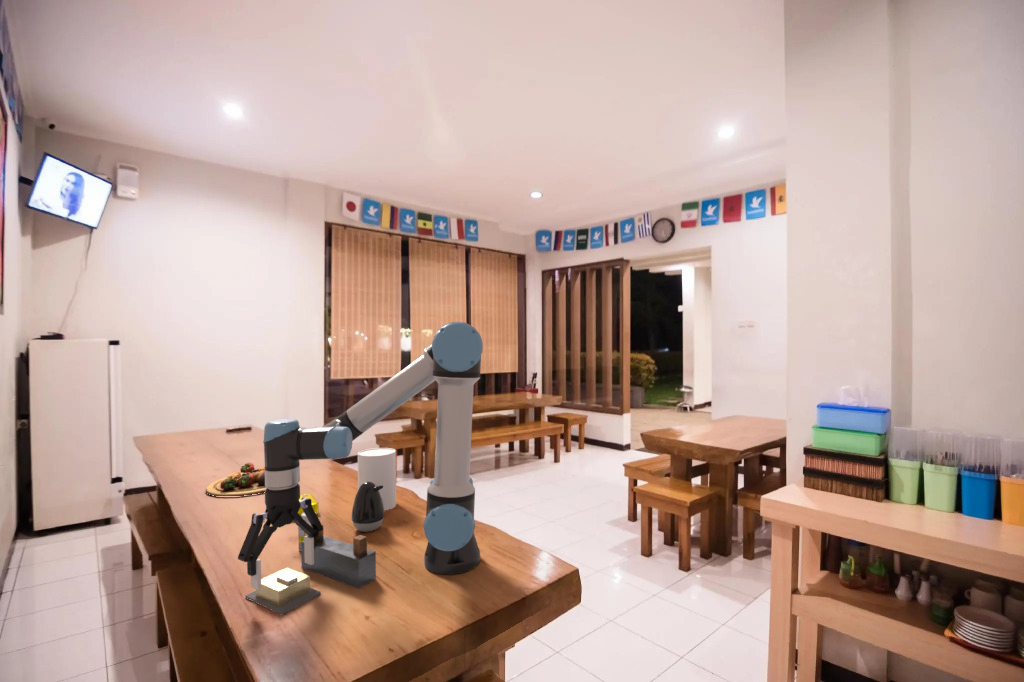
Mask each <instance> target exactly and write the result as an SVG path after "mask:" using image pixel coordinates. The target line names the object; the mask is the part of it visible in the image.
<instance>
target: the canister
mask: <svg viewBox="0 0 1024 682" xmlns="http://www.w3.org/2000/svg"><path fill="white" fill-rule="evenodd" d="M365 482H373V483H374V484H375V485H376V486H380V485H383V488H382V489H380V490H379V492H380V495H381V498H382V501H383V506H384V512H386V511H385V510H387V511H390V510H392V509H394V508H395V507H397V450H396V449H395V448H391V447H390V448H389V447H373V448H366V449H363V450H360V451H358V452H357V490H358V489H359V487H360V486H361V485H362V484H363V483H365ZM389 509H390V510H389Z"/></svg>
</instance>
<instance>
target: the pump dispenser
mask: <svg viewBox="0 0 1024 682" xmlns="http://www.w3.org/2000/svg"><path fill="white" fill-rule="evenodd" d="M382 488H383V485H380V486H376V485H375V484H374V483H373V482H365V483H363V484H362V485H361V486H360V487H359V489H358V488H357V491H356V493H355V497H354V501H353V504H352V508H351V521H352V524H353V526H354V528H355V529H356V530H357V531H359V532H363V533H370V532H373V530H374V531H375V530H378V529H379V528H380V527H381V526H382V524H383V521H384V518H385V511H384V506H383V501H382V498H381V495H380V492H379V490H380V489H382ZM369 531H370V532H369Z"/></svg>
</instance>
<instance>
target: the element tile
mask: <svg viewBox="0 0 1024 682" xmlns="http://www.w3.org/2000/svg"><path fill="white" fill-rule="evenodd" d="M303 497H305V498H309V499H311V502H312V507H313V509H314V511H315V512H316V514H317V515H318V514H319V513H320V512H319V505H320V504H319V502H318V500H317V499H316V497H315V496H314V494H312V493H311V492H310V493H303V494H301V493H300V499H299V501H300V500H301V499H302V498H303ZM302 513H304V511H303V509H302V508H301V507H300V509H299V511H298V514H299V515H300V516H301V514H302Z"/></svg>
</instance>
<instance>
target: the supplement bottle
mask: <svg viewBox="0 0 1024 682" xmlns="http://www.w3.org/2000/svg"><path fill="white" fill-rule="evenodd" d="M315 513H316V512H315ZM301 517H302V518H303V519H304V520H305V521H306V522H307V523H308V524H309V525H310V526H311V524H310V522H309V520H308V518H307V517H306V515H305V513H302V514H301ZM311 527H312V526H311ZM297 528H298V530H297V532H298V533H297V534H298V535H297V536H298V550H299V551H300V552H302V546H301V542H302V541H304V537H305V536H308V534H306V533H305V532H304V531H303V530H302V529H301V528H300V527H299V526H298V525H297Z"/></svg>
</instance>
